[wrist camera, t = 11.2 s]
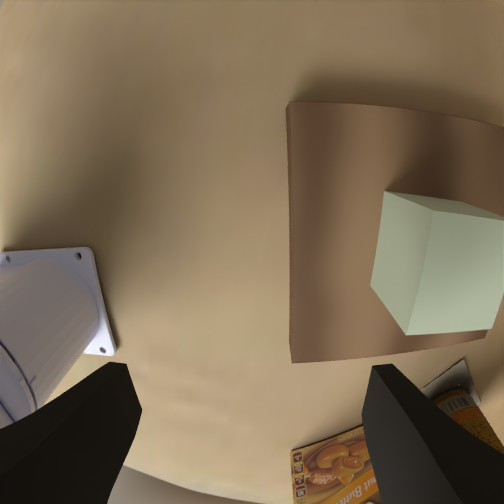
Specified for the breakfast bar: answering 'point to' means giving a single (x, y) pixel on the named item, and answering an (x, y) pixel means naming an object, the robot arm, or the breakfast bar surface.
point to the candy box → (334, 472)
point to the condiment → (462, 403)
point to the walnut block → (370, 214)
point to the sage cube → (439, 264)
